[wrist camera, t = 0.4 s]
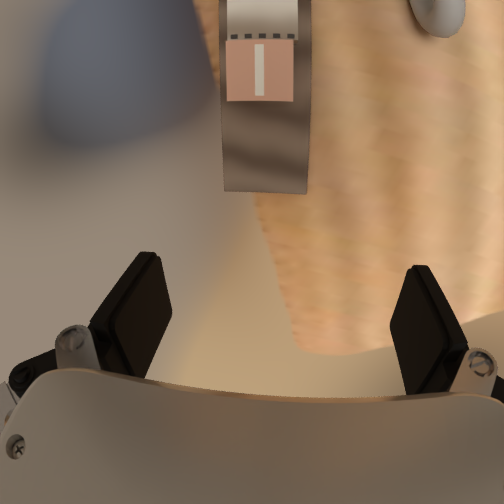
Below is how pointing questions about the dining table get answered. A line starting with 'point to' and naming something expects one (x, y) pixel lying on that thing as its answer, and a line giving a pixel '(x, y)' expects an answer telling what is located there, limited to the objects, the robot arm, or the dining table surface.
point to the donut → (439, 16)
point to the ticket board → (267, 102)
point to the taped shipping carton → (259, 70)
